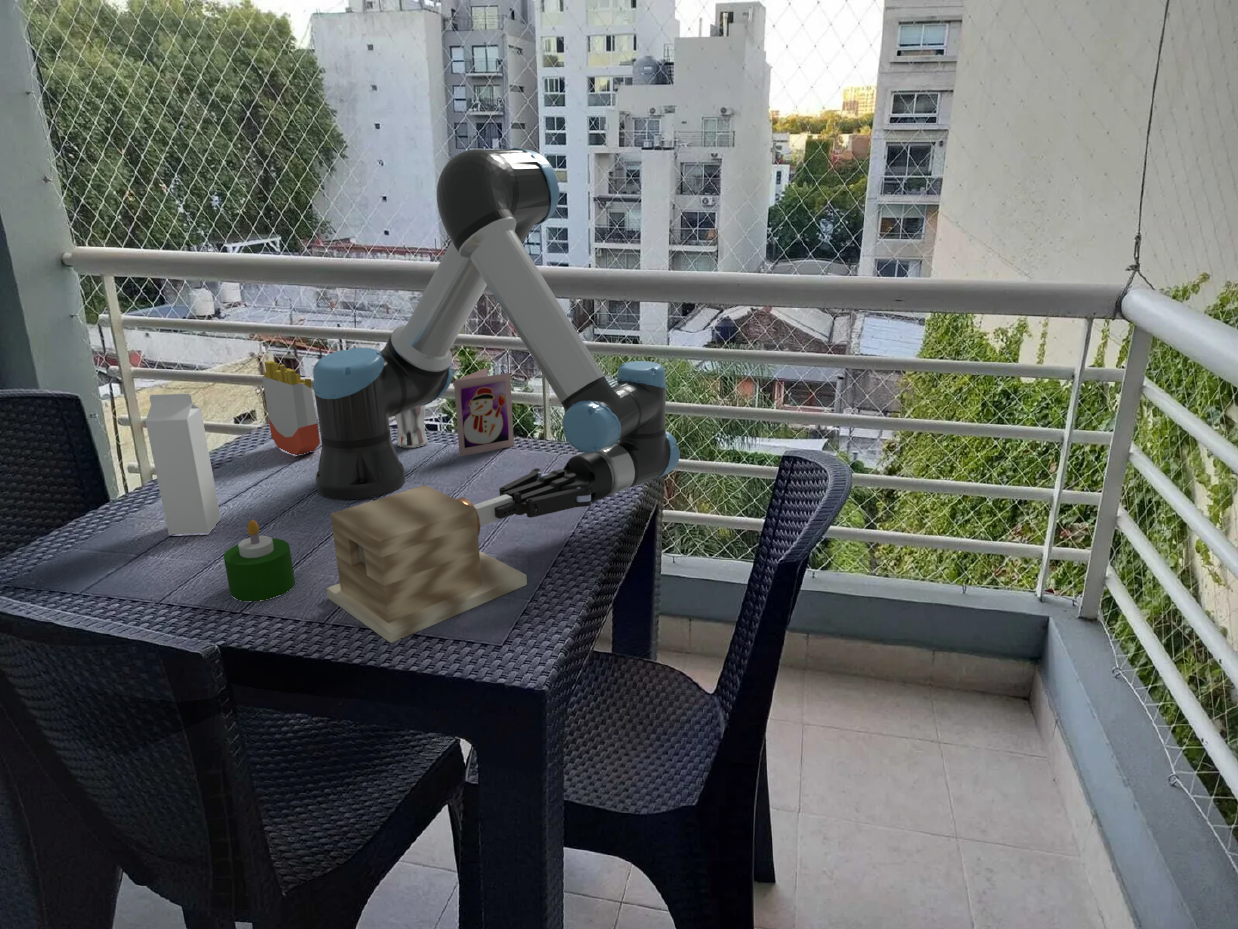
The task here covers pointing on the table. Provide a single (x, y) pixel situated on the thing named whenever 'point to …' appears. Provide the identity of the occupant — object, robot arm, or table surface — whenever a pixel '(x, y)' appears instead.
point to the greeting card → (483, 412)
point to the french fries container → (290, 409)
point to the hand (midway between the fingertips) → (471, 517)
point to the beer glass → (411, 428)
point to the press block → (413, 562)
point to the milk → (182, 464)
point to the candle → (259, 567)
